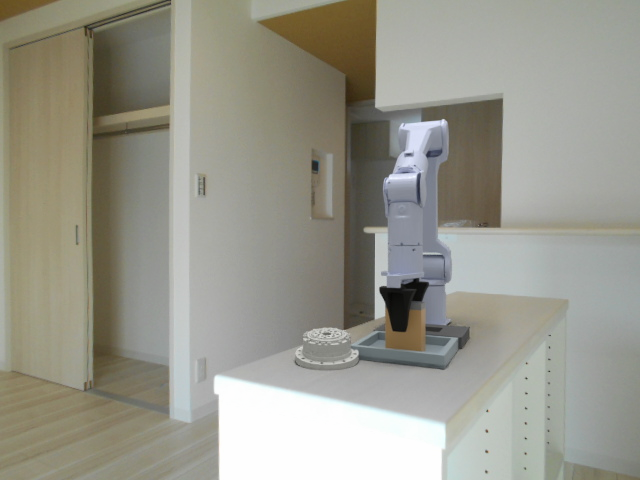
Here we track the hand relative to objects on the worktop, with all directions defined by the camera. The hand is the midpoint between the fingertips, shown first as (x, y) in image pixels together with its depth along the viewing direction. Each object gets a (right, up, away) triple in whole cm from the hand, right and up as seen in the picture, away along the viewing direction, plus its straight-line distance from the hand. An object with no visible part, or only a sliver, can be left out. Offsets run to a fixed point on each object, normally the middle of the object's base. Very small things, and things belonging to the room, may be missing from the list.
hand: (405, 327), depth 76 cm
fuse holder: (+5, -4, +11) cm, 13 cm away
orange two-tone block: (0, -4, 0) cm, 4 cm away
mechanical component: (-13, -5, -4) cm, 15 cm away
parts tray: (0, -4, 0) cm, 4 cm away
